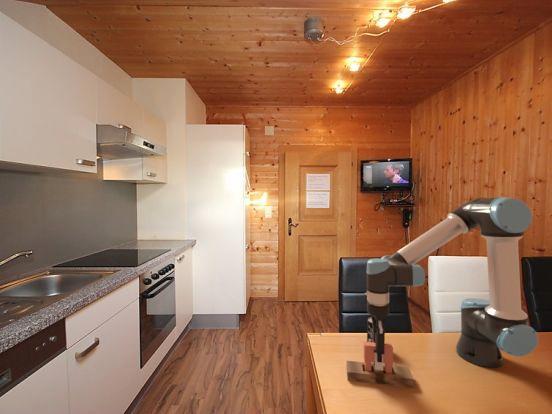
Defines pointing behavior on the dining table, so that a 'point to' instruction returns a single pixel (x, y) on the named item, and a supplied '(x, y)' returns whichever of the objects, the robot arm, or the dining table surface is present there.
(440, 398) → the dining table surface
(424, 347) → the dining table surface
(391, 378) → the grey-brown slotted holder
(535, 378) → the dining table surface
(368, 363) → the pink pronged block
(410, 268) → the robot arm
